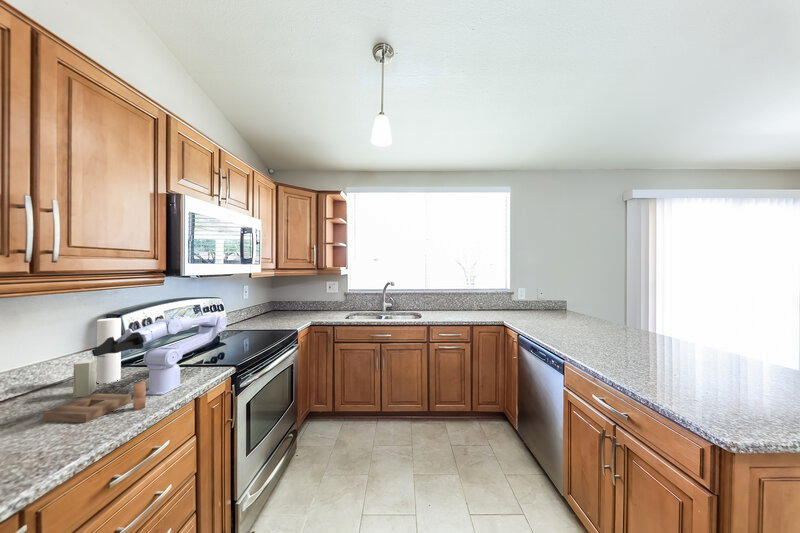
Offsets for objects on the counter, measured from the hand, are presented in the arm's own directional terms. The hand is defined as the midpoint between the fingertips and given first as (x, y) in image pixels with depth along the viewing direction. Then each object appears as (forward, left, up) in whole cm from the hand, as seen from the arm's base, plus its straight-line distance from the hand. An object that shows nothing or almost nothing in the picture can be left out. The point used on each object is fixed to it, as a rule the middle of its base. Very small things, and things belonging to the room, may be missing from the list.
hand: (103, 351), depth 95 cm
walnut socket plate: (-3, -8, -20) cm, 22 cm away
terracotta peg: (-6, +6, -20) cm, 22 cm away
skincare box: (-15, -24, -20) cm, 35 cm away
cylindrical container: (-28, -29, -20) cm, 45 cm away
